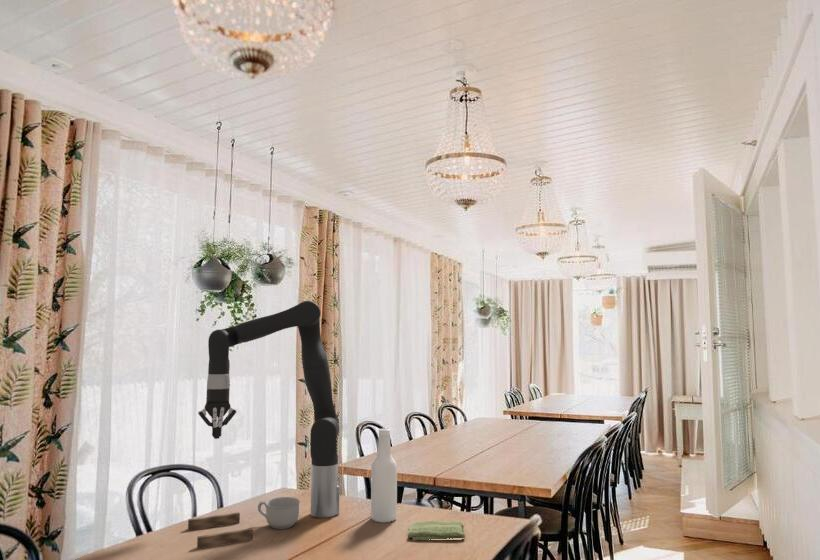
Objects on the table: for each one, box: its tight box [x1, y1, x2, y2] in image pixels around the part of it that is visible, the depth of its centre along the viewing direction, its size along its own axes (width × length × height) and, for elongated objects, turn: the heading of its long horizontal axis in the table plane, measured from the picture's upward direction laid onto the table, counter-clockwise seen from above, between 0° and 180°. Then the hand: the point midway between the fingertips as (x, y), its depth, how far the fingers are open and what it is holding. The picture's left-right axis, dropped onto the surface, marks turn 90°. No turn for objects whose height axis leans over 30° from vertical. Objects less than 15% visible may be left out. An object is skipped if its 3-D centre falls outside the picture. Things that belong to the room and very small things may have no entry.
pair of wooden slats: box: [187, 512, 254, 549], centre depth 180 cm, size 16×20×3 cm
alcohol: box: [370, 427, 398, 524], centre depth 196 cm, size 9×9×30 cm
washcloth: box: [407, 519, 466, 541], centre depth 180 cm, size 13×18×3 cm
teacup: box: [257, 496, 300, 530], centre depth 188 cm, size 14×11×8 cm
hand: (216, 438), depth 197 cm, fingers closed
